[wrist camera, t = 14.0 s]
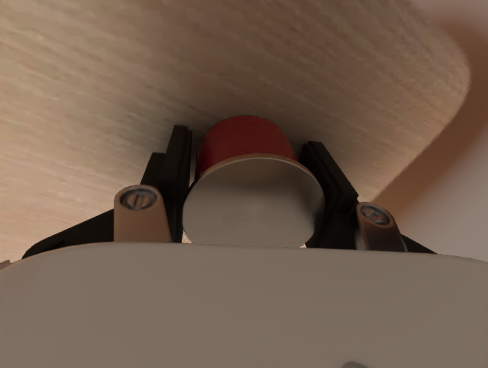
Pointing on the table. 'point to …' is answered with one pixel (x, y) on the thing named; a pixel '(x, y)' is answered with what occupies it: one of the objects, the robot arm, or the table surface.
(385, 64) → the table surface
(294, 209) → the coffee pod
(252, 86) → the table surface
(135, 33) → the table surface
